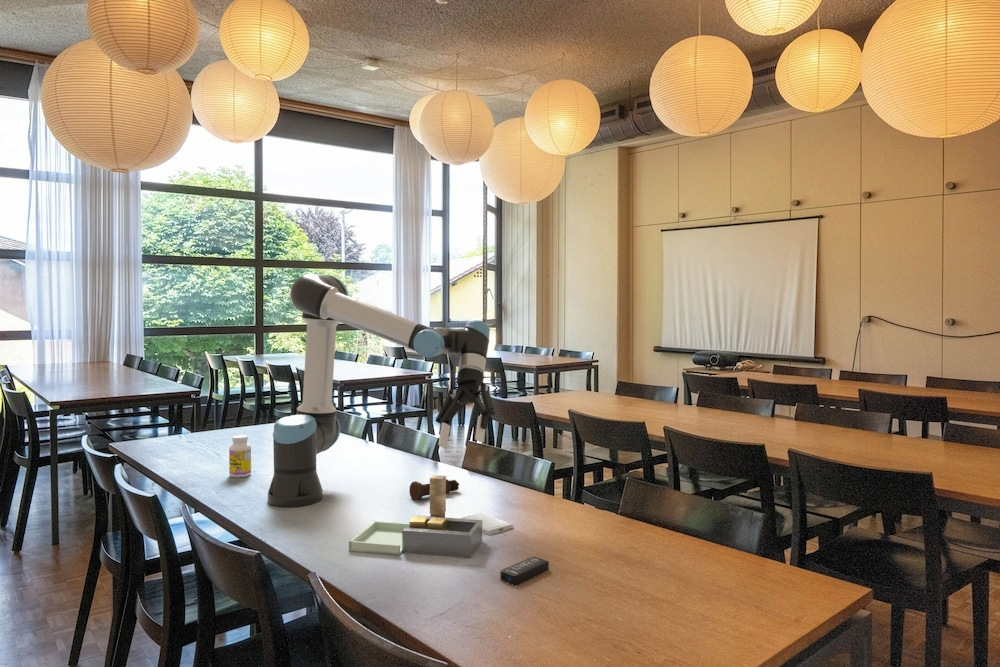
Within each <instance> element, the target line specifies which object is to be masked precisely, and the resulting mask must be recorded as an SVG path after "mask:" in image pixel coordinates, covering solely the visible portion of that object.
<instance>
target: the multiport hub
mask: <svg viewBox="0 0 1000 667" xmlns="http://www.w3.org/2000/svg"><path fill="white" fill-rule="evenodd" d="M549 568H550V562H549V560H546V559H543V558H540V557H538V556H531V557H529V558H526V559H524V560H522V561H519V562H517V563H514V564H513V565H510V566H507V567H505V568H503V569H500V574H499V576H500V579H499V580H500V581H501V580H502V581H501V582H504V583H506V582H508V583H507V584H509V583H510V584H509V585H512V584H513V586H515V585H517V586H519V585H520V583H521V584H523V583H525V582H527V580H528V581H530V580H531V578H532V579H534V578H536V577H538V576H540V575H542V574H541V573H543V572H545V571H547V570H549V571H550V569H549ZM547 572H548V571H547ZM545 573H546V572H545ZM539 574H540V575H539ZM543 574H544V573H543ZM537 575H538V576H537ZM535 576H536V577H535ZM533 577H534V578H533ZM529 579H530V580H529ZM524 581H525V582H524ZM522 582H523V583H522ZM518 584H519V585H518Z"/></svg>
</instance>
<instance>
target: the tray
mask: <svg viewBox="0 0 1000 667" xmlns="http://www.w3.org/2000/svg"><path fill="white" fill-rule="evenodd" d="M404 528H410V523H406V522H405V523H404V522H393V521H392V522H391V521H377V520H374V521H373V522H372V523H370V524H369V525H368V526H367V527H365V528H364V529H363V530H362V531H360V532H359V533H358V534H357V535H355V536H354V537H352V539H350V540H349V541H348V552H352V551H357V552H356V553H364V552H370V553H369V554H376V553H379V554H380V555H388V554H391V556H400V555H401V554H402V553H403V552H402V530H403V529H404ZM379 554H378V555H379Z"/></svg>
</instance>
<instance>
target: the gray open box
mask: <svg viewBox="0 0 1000 667" xmlns="http://www.w3.org/2000/svg"><path fill="white" fill-rule="evenodd" d="M421 516H422V517H427V522H428V521H429V520H430V519H431V518H432V517H430V515H429V516H428V515H421ZM435 518H444V517H435ZM446 518H447V531H444V530H431V529H417V528H404V529H403V530H402V553H405V552H407V554H408V553H409V554H419V555H432V556H445V557H453V558H454V557H455V558H466V559H467V558H468V559H471V558H472V557H473V556H474V554H475V552H476V551H477V550H478V549H479V547H480V545H481V544H482V542H483V533H482V520H472V519H459V518H458V517H457V518H456V517H455V518H454V517H446Z"/></svg>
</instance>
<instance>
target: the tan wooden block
mask: <svg viewBox="0 0 1000 667" xmlns="http://www.w3.org/2000/svg"><path fill="white" fill-rule="evenodd" d="M447 518H448V517H445V518H435V517H432V518H431V519H430V520H429V521H428V522H427V529H431V530H444V531H447Z"/></svg>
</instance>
